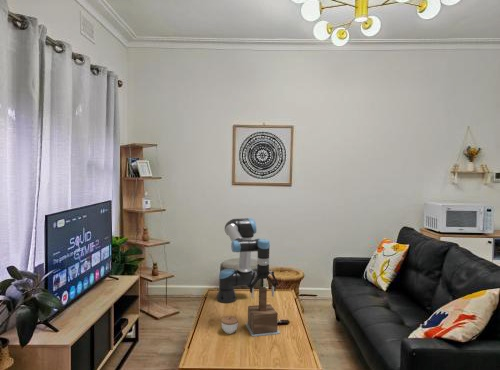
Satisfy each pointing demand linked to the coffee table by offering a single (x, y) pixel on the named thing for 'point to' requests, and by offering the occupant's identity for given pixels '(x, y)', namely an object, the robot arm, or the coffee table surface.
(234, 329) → the lidded jar
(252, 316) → the cover
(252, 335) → the mat
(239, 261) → the robot arm
